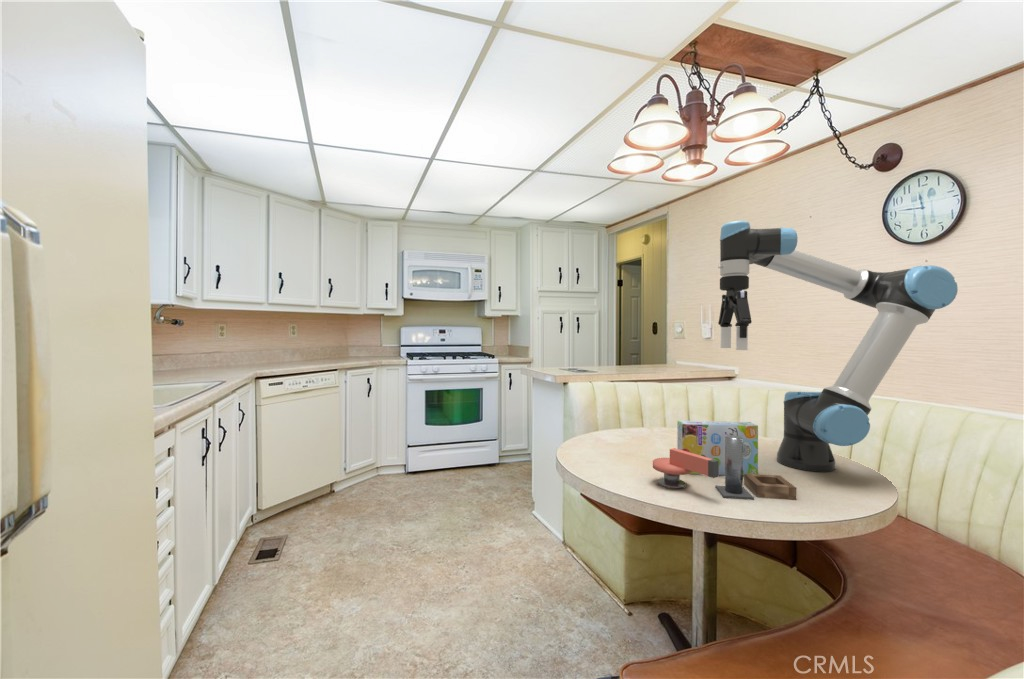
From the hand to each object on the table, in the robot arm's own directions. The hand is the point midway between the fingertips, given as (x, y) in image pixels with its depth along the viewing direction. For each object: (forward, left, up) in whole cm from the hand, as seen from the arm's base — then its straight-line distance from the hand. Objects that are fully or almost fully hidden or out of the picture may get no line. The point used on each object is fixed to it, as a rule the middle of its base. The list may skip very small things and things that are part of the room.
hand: (733, 349), depth 123 cm
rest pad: (+4, +16, -37) cm, 40 cm away
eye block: (-5, +13, -37) cm, 39 cm away
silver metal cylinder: (+4, +16, -36) cm, 40 cm away
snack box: (+4, -1, -37) cm, 37 cm away
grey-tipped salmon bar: (+16, +15, -32) cm, 39 cm away
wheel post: (+19, +12, -37) cm, 43 cm away
